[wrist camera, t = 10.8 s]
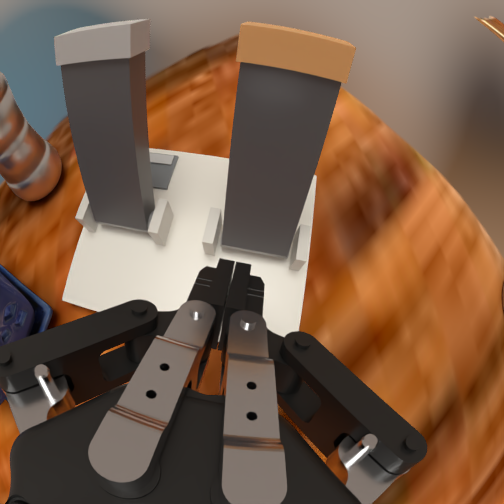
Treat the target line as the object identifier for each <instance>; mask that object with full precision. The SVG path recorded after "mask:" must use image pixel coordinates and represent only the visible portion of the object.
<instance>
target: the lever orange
mask: <svg viewBox="0 0 504 504" xmlns="http://www.w3.org/2000/svg"><path fill="white" fill-rule="evenodd" d="M355 50H356V47H354V46H353V45H352V44H350V43H349V42H347V41H344V40H340V39H336V38H333V37H329V36H325V35H321V34H317V33H313V32H308V31H303V30H299V29H294V28H288V27H282V26H277V25H270V24H263V23H256V22H246V23H243V24H241V27H240V34H239V42H238V49H237V57H236V61H237V62H241V63H240V71H239V79H238V87H237V95H236V103H235V112H234V120H233V129H232V139H231V148H230V158H229V167H228V178H227V188H226V199H225V210H224V221H223V231H222V236H221V244H220V246H221V247H226V248H232V249H237V250H243V251H248V252H253V253H259V254H264V255H269V256H275V257H280V258H285V259H287V258H288V256H289V252H290V248H291V244H292V241H293V238H294V235H295V232H296V229H297V226H298V223H299V220H300V217H301V214H302V211H303V208H304V205H305V202H306V198H307V195H308V192H309V189H310V186H311V183H312V180H313V177H314V173H315V170H316V167H317V164H318V161H319V157H320V154H321V151H322V148H323V144H324V141H325V138H326V134H327V131H328V128H329V124H330V121H331V117H332V114H333V111H334V107H335V104H336V100H337V97H338V93H339V90H340V86H341V83H342V82H343V83H347V79H348V76H349V72H350V68H351V65H352V61H353V58H354V54H355Z"/></svg>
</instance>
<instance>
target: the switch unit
mask: <svg viewBox="0 0 504 504" xmlns="http://www.w3.org/2000/svg"><path fill="white" fill-rule="evenodd" d="M149 154H150V165H151V175H152V184H153V193H154V202H155V210H154V213H153V216H152V219H151V222H150V225H149V229H148V233H147V232H142V231H137V230H131V229H126V228H121V227H115V226H110V225H105V224H99V223H96V222H95V220H94V216H93V213H92V210H91V207H90V203H89V200H88V197H87V193H86V192H85V194H84V197H83V199H82V202H81V204H80V207H79V209H78V212H77V214H76V217H75V219H77V220H78V221H79V222H80V223H81V224H82V225H83V226H84V227H83V230H82V233H81V236H80V239H79V242H78V245H77V248H76V251H75V254H74V257H73V261H72V264H71V268H70V271H69V275H68V278H67V282H66V286H65V290H64V294H63V298H62V300H63V301H66V302H69V303H72V304H75V305H78V306H81V307H84V308H87V309H90V310H94V311H97V312H100V311H103V310H106V309H108V308H111V307H114V306H117V305H120V304H123V303H125V302H128V301H131V300H136V299H142V300H147V301H149V302H151V303H153V304H154V305H155V306H156V308H157V310H158V311H174V310H177V309H179V308H180V306H181V305H182V304H183V303H185V302H186V301H187V299H188V297H189V294H190V292H191V290H192V287H193V285H194V283H195V280H196V278H197V276H198V274H199V271H200V270H201V269H203V268H204V267H206V266H209V267H214V268H216V267H217V264H218V261H219V259H220V258H222V259H227V260H232V261H235V264H234V269H235V265H236V262H241V263H246V264H251V271H250V275H253V276H258V277H261V279H262V280H263V282H264V284H265V286H264V303H263V318H264V320H265V321H266V326H267V328H268V329H269V330H270V331H272V332H273V333H275V334H278V335H280V336H282V337H285V336H286V335H287V334H288V333H290V332H294V331H299V325H300V319H301V312H302V305H303V298H304V290H305V283H306V275H307V267H308V258H309V250H310V241H311V231H312V222H313V212H314V201H315V189H316V177H317V176H316V175H314V177H313V180H312V183H311V186H310V189H309V192H308V195H307V198H306V202H305V205H304V208H303V211H302V214H301V217H300V220H299V223H298V226H297V229H296V232H295V235H294V238H293V241H292V244H291V248H290V252H289V256H288V258H287V259H285V258H280V257H275V256H269V255H264V254H259V253H253V252H248V251H243V250H237V249H232V248H226V247H221V246H220V244H221V236H222V231H223V221H224V210H225V199H226V188H227V178H228V167H229V159H228V158H222V157H215V156H208V155H201V154H194V153H186V152H178V151H170V150H161V149H151V148H149ZM233 273H234V270H233ZM232 277H233V275H232ZM222 323H223V322H222ZM221 329H222V327H221ZM220 334H221V331H220ZM219 340H220V335H219ZM219 340H218V342H219Z"/></svg>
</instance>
